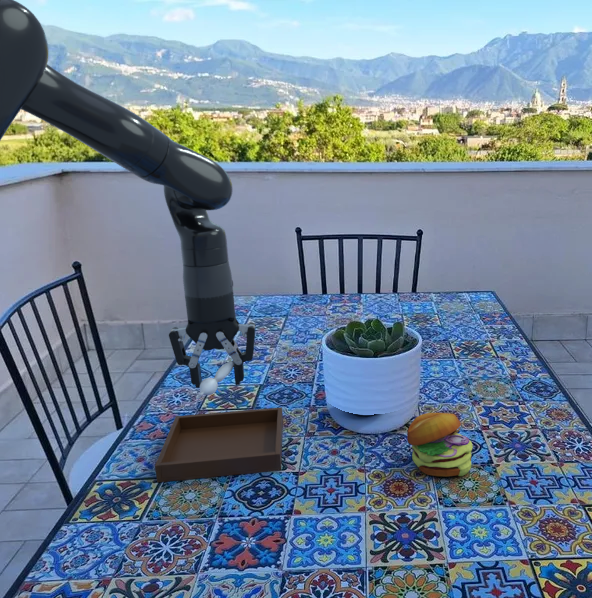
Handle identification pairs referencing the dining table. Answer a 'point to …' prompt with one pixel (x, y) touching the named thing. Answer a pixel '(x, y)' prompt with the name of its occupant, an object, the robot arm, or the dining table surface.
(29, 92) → the robot arm
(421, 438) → the cheeseburger
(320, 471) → the dining table surface
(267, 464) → the tray
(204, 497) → the dining table surface
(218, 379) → the rabbit figurine
